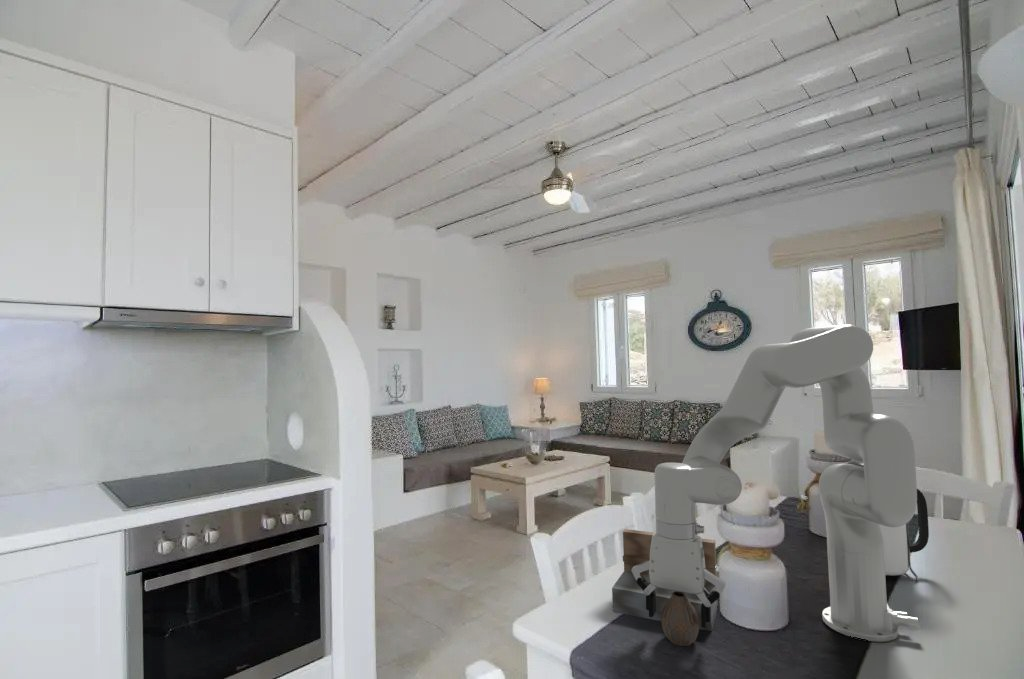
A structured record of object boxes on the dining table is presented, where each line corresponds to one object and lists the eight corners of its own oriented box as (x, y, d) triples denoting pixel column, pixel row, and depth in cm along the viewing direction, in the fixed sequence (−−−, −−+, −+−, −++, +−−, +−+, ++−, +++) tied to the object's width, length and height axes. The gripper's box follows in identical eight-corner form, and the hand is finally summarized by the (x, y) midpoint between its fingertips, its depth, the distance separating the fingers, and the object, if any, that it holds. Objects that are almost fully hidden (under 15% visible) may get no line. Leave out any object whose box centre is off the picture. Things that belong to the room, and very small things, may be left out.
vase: (702, 652, 95) (700, 603, 95) (663, 648, 96) (661, 600, 97) (696, 632, 102) (695, 587, 102) (660, 630, 103) (658, 585, 103)
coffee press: (915, 593, 116) (907, 458, 118) (835, 573, 128) (828, 451, 130) (932, 571, 128) (924, 449, 129) (856, 554, 140) (850, 443, 141)
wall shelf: (718, 605, 113) (715, 540, 113) (712, 631, 102) (708, 558, 103) (627, 589, 122) (625, 529, 122) (612, 611, 111) (610, 545, 112)
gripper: (725, 529, 99) (728, 620, 98) (635, 518, 107) (637, 602, 106) (722, 541, 93) (724, 639, 92) (626, 528, 100) (628, 618, 100)
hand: (678, 619), depth 99 cm, fingers open, 9 cm apart
